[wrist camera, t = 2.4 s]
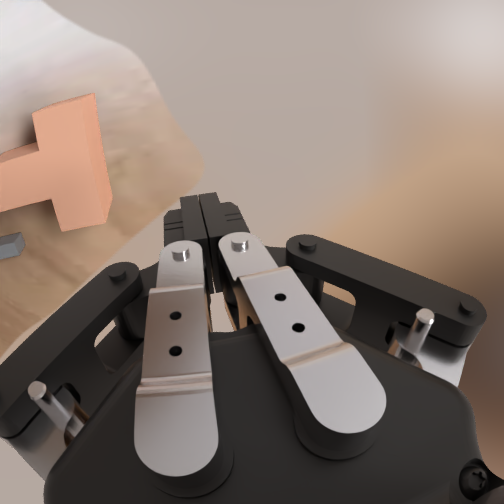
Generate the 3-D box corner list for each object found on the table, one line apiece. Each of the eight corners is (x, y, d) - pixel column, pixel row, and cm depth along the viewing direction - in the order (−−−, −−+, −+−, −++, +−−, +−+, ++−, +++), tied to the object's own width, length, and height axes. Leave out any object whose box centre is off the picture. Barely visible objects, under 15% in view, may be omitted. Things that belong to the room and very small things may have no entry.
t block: (23, 217, 26) (5, 244, 22) (-2, 122, 20) (-28, 135, 16) (112, 197, 28) (105, 223, 24) (94, 92, 22) (80, 99, 18)
